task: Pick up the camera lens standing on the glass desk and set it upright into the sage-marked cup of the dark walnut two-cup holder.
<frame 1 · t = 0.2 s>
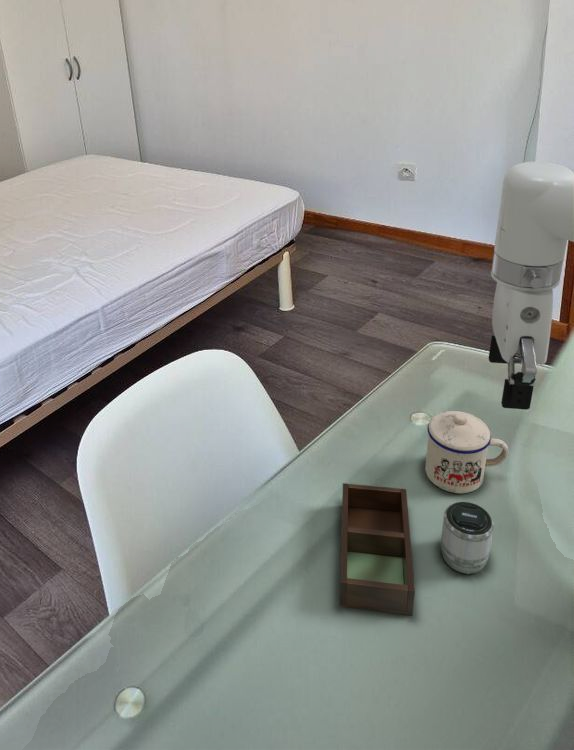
hand: (507, 383, 89), 24 cm above the table, tool pointing down, fingers open, 9 cm apart
camera lens: (463, 557, 95), on the table
holder: (374, 555, 96), on the table
teacup with lid: (463, 475, 108), on the table
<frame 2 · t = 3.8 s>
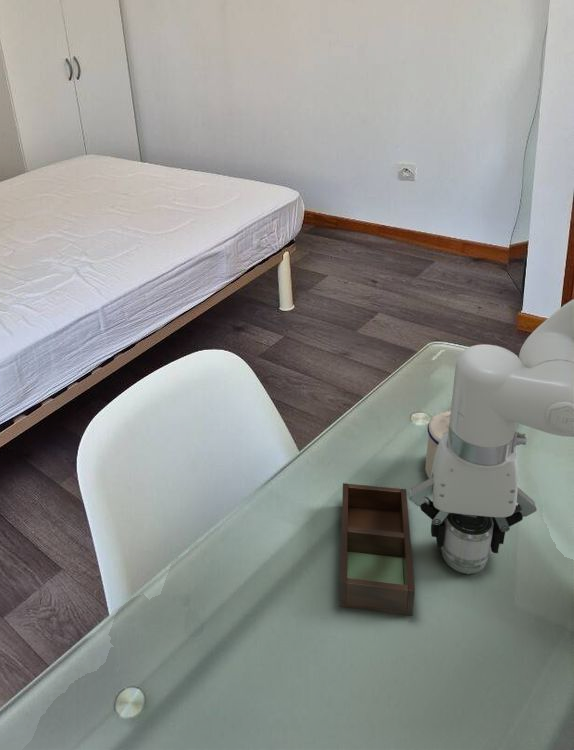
hand: (465, 540, 93), 3 cm above the table, tool pointing down, fingers closed on camera lens, 6 cm apart
camera lens: (463, 557, 95), on the table, touching gripper
everything else where it was.
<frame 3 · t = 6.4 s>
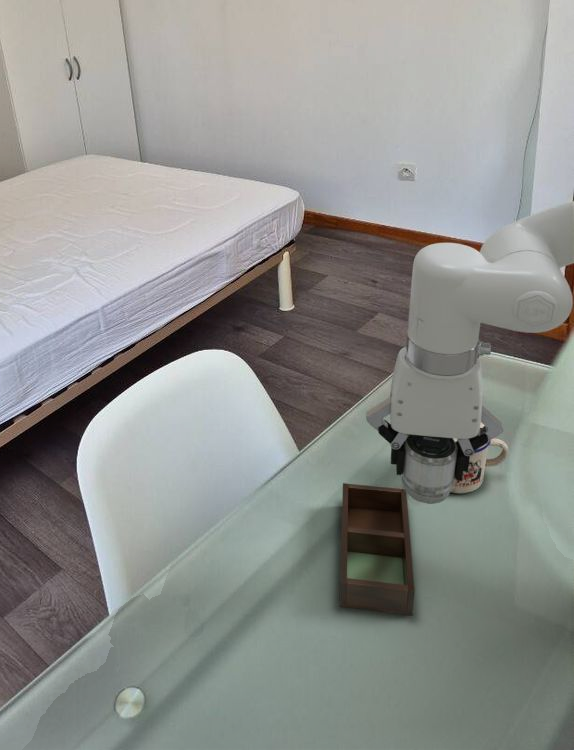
hand: (427, 469, 86), 18 cm above the table, tool pointing down, fingers closed on camera lens, 6 cm apart
camera lens: (425, 488, 87), point 15 cm above the table, touching gripper
everything else where it was.
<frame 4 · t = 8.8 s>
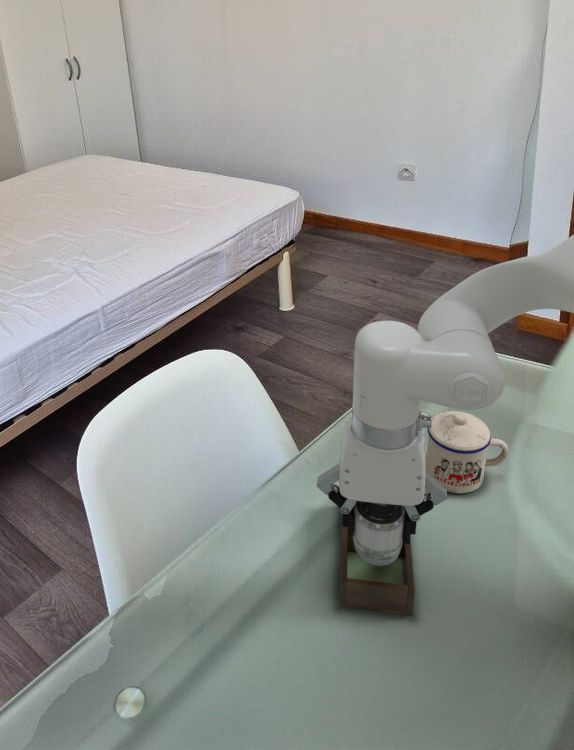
hand: (377, 531, 88), 9 cm above the table, tool pointing down, fingers closed on camera lens, 6 cm apart
camera lens: (376, 549, 90), point 6 cm above the table, touching gripper
everything else where it was.
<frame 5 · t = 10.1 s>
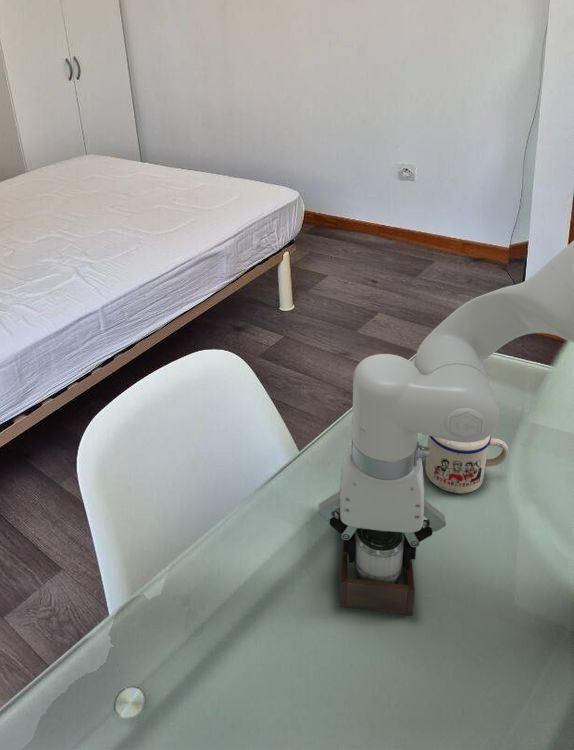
hand: (378, 556, 90), 5 cm above the table, tool pointing down, fingers closed on camera lens, 6 cm apart
camera lens: (377, 573, 92), point 1 cm above the table, touching gripper
everything else where it was.
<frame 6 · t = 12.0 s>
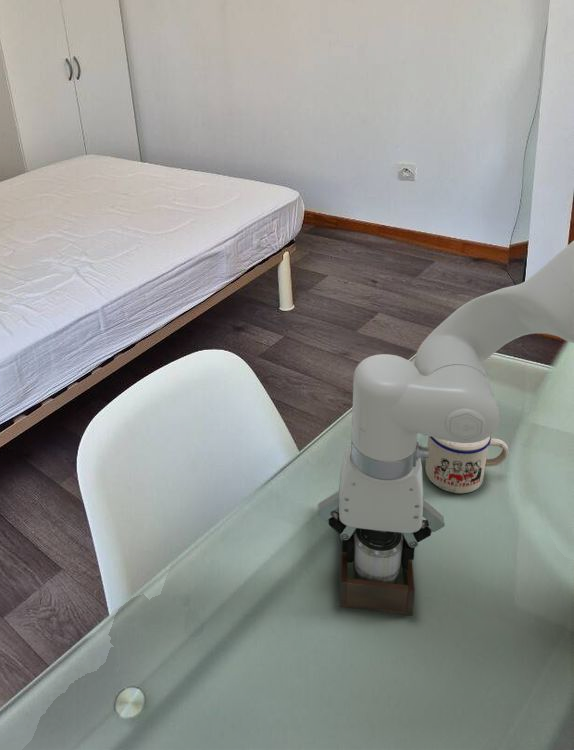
hand: (376, 556, 90), 5 cm above the table, tool pointing down, fingers closed on camera lens, 6 cm apart
camera lens: (376, 573, 92), point 1 cm above the table, touching gripper
everything else where it was.
when the fingers open (5 cm above the table, at t = 13.8 s): camera lens drops 1 cm, resting on holder.
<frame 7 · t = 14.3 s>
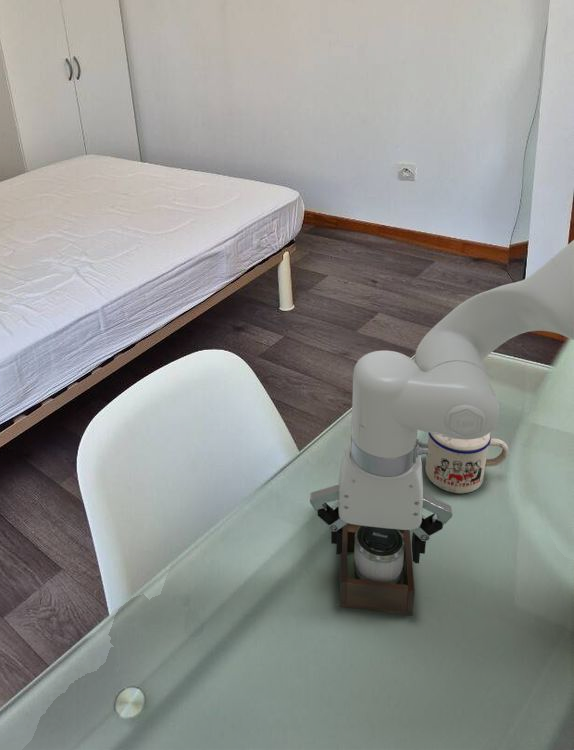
hand: (376, 549, 90), 6 cm above the table, tool pointing down, fingers open, 9 cm apart
camera lens: (377, 578, 92), point 1 cm above the table, touching holder
everything else where it was.
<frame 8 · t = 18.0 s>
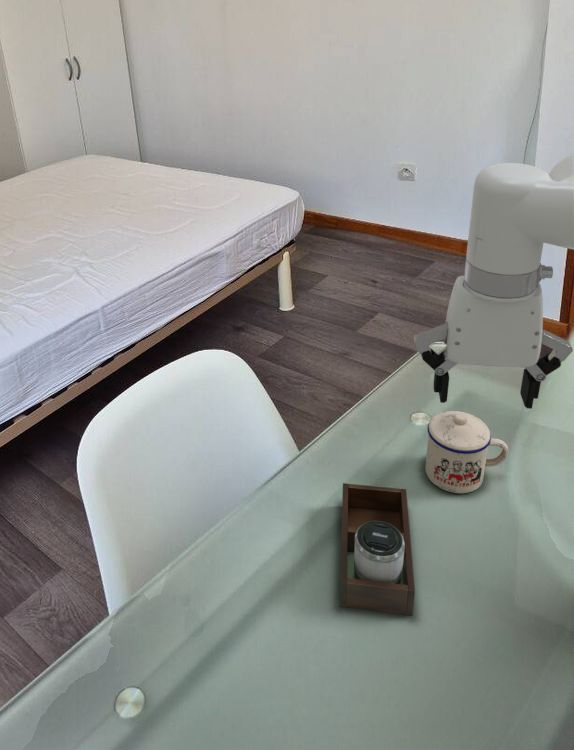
hand: (483, 398, 84), 26 cm above the table, tool pointing down, fingers open, 9 cm apart
nothing on the table moved.
at the end: camera lens 0.3 cm from the target spot in the holder, point 0.5 cm above the holder's base; camera lens tilted 0°; the gripper is holding nothing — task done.
